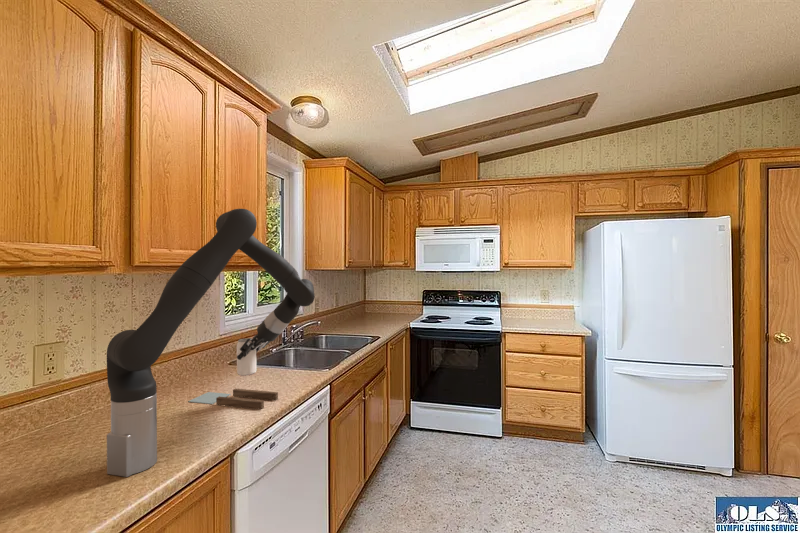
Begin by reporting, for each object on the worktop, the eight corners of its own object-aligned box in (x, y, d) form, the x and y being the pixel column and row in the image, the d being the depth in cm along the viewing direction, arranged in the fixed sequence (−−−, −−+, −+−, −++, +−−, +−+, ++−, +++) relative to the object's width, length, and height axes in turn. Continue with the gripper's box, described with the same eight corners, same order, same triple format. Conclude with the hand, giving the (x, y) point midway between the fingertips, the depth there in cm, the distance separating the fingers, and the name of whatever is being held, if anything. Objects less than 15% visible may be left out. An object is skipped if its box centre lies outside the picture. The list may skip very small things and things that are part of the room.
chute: (261, 409, 128) (261, 402, 128) (216, 405, 132) (216, 397, 132) (278, 399, 138) (278, 392, 138) (235, 395, 142) (235, 388, 142)
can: (249, 376, 131) (248, 342, 131) (233, 375, 132) (232, 341, 132) (260, 370, 137) (259, 338, 137) (244, 369, 139) (243, 337, 138)
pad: (211, 404, 133) (211, 403, 133) (188, 402, 135) (188, 401, 135) (230, 394, 143) (230, 394, 143) (208, 392, 145) (208, 391, 145)
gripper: (278, 314, 140) (250, 345, 143) (254, 320, 126) (224, 353, 129) (291, 329, 139) (262, 360, 142) (268, 336, 125) (237, 370, 128)
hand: (244, 357), depth 135 cm, fingers closed on can, 5 cm apart
